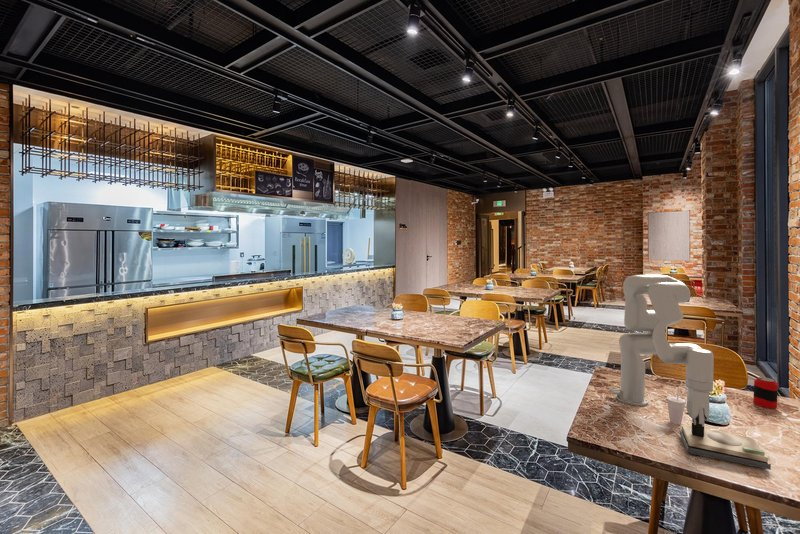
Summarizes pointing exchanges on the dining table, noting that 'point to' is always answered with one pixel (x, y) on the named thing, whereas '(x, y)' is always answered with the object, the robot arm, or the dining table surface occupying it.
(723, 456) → the stand base
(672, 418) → the smoothie
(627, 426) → the dining table surface
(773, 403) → the soda can
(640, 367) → the robot arm
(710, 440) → the stand top
